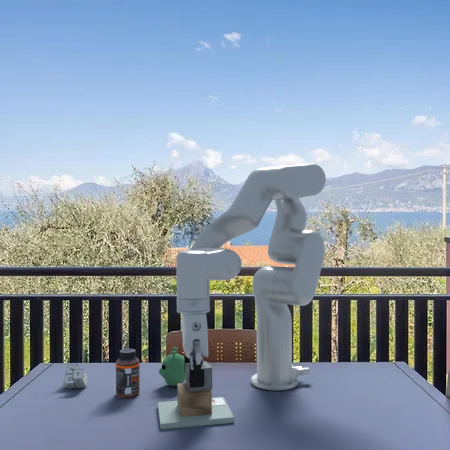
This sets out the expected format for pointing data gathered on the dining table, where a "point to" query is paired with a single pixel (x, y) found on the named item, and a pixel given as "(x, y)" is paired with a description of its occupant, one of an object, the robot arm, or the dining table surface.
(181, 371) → the alien toy
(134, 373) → the supplement bottle
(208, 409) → the base brick
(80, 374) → the building blocks
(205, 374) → the dice cube
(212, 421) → the build board
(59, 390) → the dining table surface
